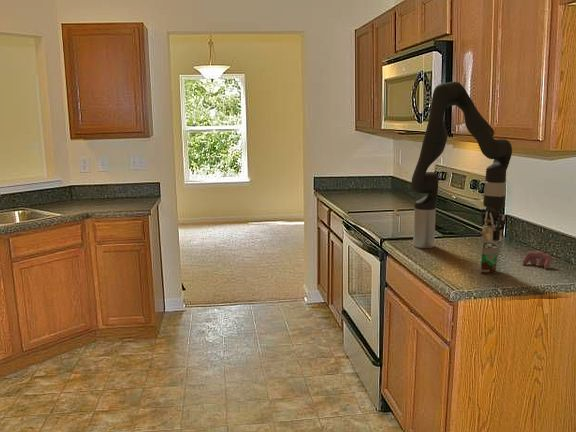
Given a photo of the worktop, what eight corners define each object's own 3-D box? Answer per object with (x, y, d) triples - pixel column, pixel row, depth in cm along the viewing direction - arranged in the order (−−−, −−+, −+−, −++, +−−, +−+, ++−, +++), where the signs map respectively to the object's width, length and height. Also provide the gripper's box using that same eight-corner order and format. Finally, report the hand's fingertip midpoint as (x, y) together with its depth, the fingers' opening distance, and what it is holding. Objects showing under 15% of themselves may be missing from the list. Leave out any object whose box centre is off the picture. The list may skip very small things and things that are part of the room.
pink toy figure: (550, 271, 215) (554, 254, 216) (546, 268, 212) (551, 251, 213) (524, 267, 222) (529, 250, 223) (520, 264, 219) (525, 247, 220)
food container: (498, 276, 204) (500, 249, 202) (480, 274, 207) (482, 248, 205) (499, 267, 216) (500, 242, 214) (482, 266, 218) (483, 241, 216)
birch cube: (482, 238, 211) (482, 225, 210) (494, 238, 212) (495, 225, 211) (489, 241, 206) (489, 228, 205) (501, 241, 207) (502, 227, 206)
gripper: (475, 191, 212) (472, 235, 215) (495, 197, 198) (493, 243, 201) (493, 190, 213) (490, 234, 216) (515, 196, 199) (511, 242, 203)
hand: (491, 238), depth 209 cm, fingers closed on birch cube, 5 cm apart
